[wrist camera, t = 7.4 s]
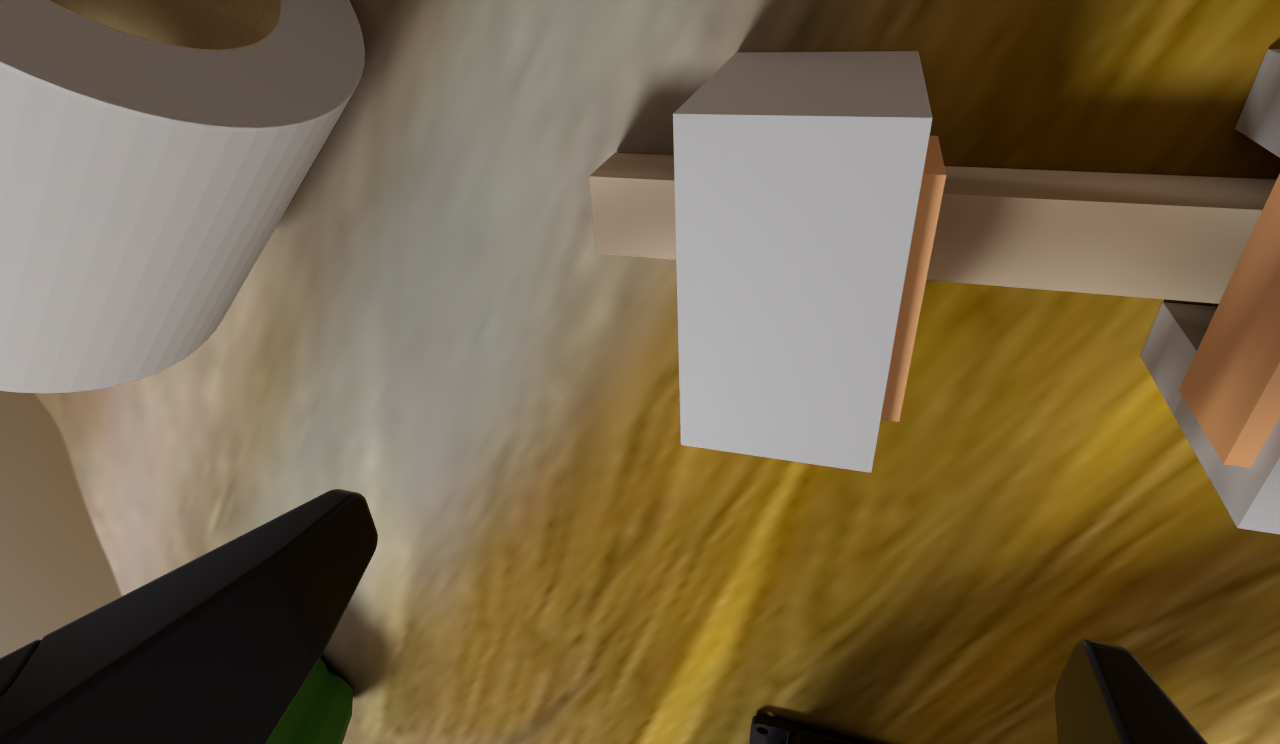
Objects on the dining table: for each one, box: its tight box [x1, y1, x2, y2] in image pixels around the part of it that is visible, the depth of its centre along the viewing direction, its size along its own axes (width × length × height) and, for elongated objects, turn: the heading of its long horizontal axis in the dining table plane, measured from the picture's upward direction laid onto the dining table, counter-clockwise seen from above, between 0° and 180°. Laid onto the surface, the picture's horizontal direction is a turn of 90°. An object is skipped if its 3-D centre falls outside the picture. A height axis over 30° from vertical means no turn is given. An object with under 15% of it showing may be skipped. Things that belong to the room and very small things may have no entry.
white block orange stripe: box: [673, 51, 946, 473], centre depth 15 cm, size 7×4×6 cm, turn 4°
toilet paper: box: [0, 0, 365, 393], centre depth 16 cm, size 10×10×10 cm
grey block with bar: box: [589, 49, 1280, 534], centre depth 14 cm, size 7×18×6 cm, turn 93°
